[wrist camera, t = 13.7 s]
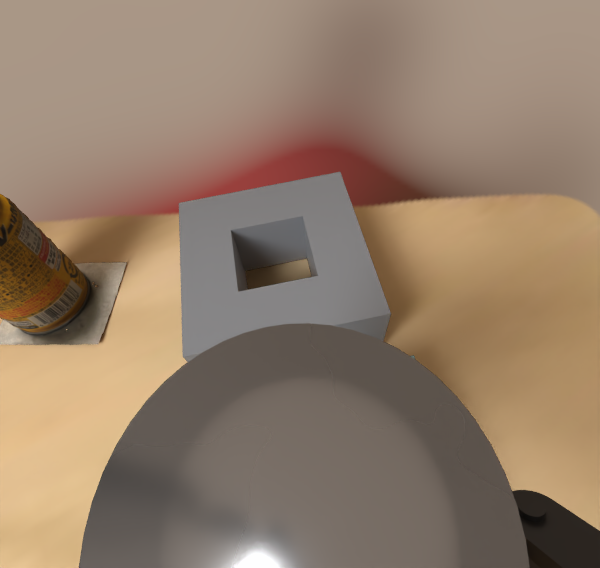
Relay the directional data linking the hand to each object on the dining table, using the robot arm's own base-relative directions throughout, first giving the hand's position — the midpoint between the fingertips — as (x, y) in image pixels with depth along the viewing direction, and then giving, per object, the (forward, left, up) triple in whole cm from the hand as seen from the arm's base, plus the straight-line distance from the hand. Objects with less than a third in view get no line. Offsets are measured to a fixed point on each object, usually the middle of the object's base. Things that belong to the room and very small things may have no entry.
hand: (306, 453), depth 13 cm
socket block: (0, +13, -11) cm, 17 cm away
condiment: (-17, +16, -11) cm, 26 cm away
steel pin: (0, -2, -8) cm, 8 cm away
